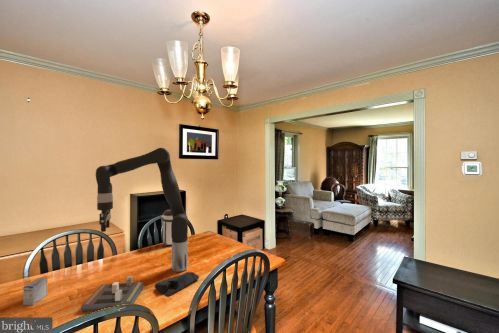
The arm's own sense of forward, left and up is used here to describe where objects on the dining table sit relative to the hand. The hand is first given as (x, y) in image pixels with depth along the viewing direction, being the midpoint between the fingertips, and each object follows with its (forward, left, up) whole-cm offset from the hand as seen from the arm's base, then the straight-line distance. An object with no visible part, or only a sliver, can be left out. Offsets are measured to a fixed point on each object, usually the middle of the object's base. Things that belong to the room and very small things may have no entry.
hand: (105, 229), depth 128 cm
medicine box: (+21, +20, -27) cm, 40 cm away
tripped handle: (-15, +24, -23) cm, 36 cm away
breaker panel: (-15, +24, -27) cm, 39 cm away
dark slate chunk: (-42, +13, -27) cm, 52 cm away
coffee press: (-28, -50, -27) cm, 63 cm away
